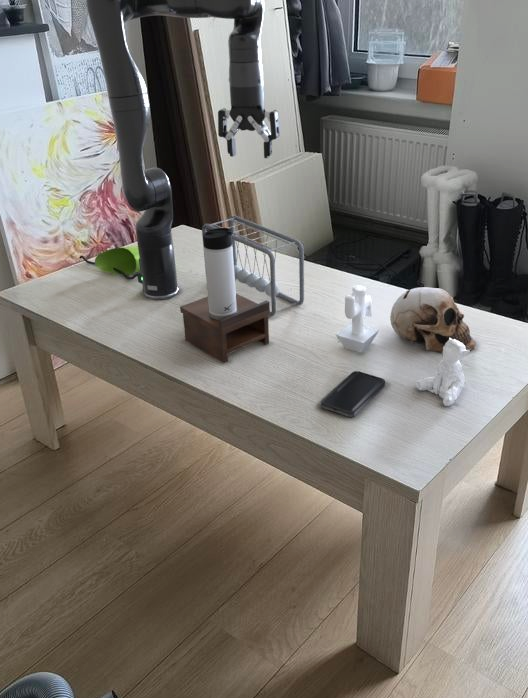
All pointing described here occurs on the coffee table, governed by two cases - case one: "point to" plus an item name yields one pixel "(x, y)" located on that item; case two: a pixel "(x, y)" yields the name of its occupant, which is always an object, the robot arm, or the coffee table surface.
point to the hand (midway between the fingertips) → (249, 156)
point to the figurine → (357, 321)
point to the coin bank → (429, 319)
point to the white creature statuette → (447, 373)
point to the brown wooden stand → (226, 327)
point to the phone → (353, 393)
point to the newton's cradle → (253, 279)
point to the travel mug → (220, 272)
